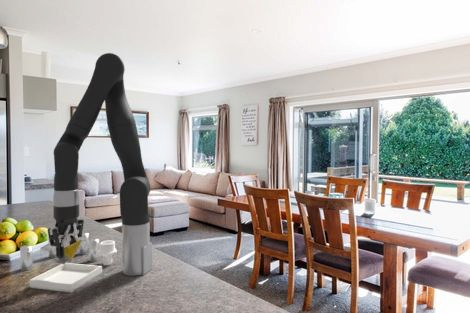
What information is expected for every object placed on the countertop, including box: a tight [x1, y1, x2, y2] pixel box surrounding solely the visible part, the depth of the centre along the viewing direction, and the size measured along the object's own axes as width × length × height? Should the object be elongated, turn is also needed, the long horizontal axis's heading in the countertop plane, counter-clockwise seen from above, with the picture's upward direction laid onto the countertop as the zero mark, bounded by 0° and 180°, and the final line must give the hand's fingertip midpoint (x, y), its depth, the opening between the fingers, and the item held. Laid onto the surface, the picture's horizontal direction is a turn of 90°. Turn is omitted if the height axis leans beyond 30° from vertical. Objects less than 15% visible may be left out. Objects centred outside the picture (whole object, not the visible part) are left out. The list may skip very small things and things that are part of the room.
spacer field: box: [19, 232, 101, 272], centre depth 125 cm, size 22×23×8 cm
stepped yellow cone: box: [57, 240, 82, 265], centre depth 109 cm, size 5×5×10 cm
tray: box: [29, 262, 103, 294], centre depth 108 cm, size 15×15×2 cm
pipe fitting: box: [98, 239, 118, 266], centre depth 123 cm, size 6×7×8 cm
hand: (67, 254), depth 108 cm, fingers closed on stepped yellow cone, 5 cm apart
